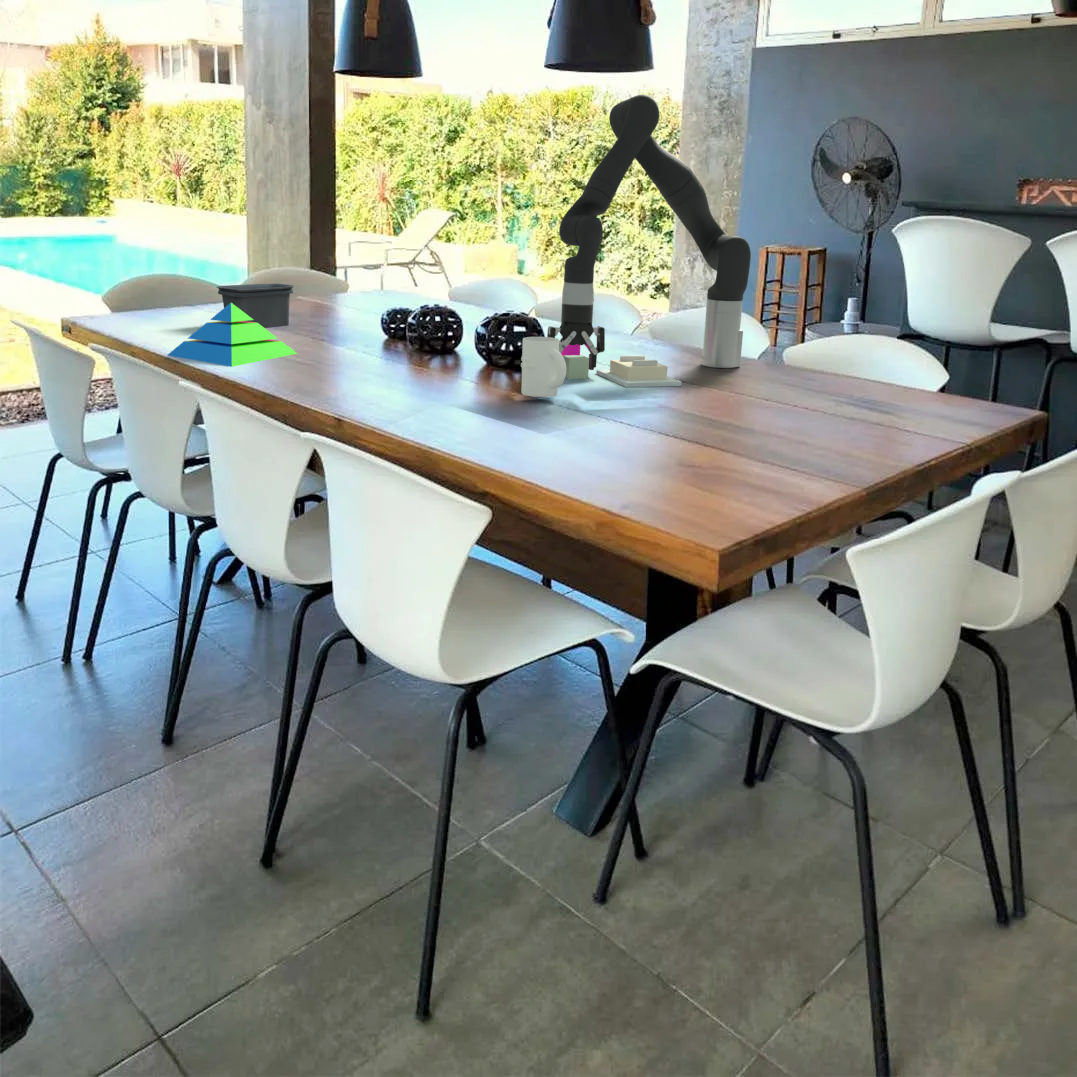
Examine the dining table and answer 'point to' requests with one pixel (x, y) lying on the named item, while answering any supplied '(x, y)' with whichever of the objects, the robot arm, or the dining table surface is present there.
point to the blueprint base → (638, 382)
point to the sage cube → (576, 366)
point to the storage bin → (260, 302)
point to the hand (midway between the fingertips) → (574, 369)
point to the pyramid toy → (232, 341)
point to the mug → (542, 367)
